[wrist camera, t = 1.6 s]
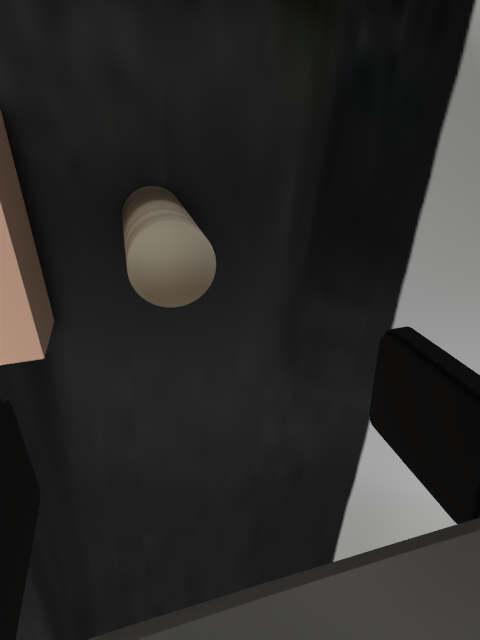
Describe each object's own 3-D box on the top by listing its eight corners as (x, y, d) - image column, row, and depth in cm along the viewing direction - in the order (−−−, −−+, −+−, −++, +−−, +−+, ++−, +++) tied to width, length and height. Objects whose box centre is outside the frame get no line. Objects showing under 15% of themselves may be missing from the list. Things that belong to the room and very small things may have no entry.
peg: (117, 187, 26) (120, 227, 17) (181, 183, 27) (214, 218, 18) (126, 249, 28) (133, 312, 19) (185, 243, 29) (217, 301, 20)
